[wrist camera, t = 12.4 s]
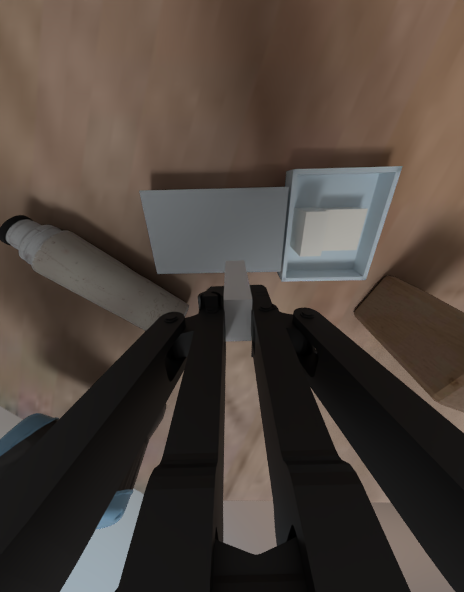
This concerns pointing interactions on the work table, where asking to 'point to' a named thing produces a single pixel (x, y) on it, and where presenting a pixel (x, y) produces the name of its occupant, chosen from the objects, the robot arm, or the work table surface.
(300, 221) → the tile
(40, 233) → the thermos bottle
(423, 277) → the work table surface
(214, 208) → the board
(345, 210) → the tile
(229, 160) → the work table surface
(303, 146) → the work table surface
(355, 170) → the tray
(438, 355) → the wooden block
